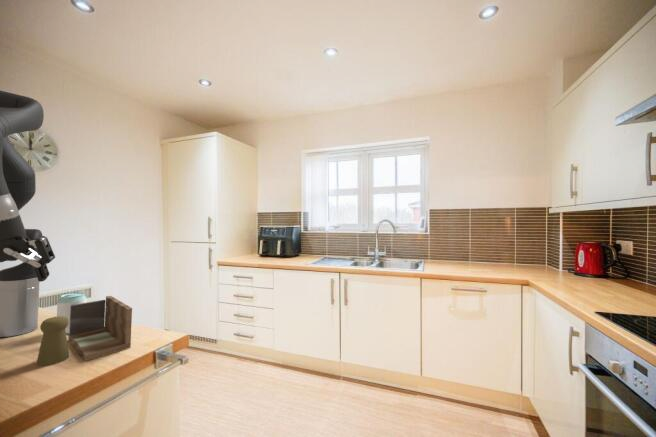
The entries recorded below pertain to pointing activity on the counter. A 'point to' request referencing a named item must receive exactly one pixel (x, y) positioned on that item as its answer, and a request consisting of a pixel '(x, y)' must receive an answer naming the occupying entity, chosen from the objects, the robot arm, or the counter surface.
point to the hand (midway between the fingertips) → (19, 283)
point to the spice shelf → (100, 327)
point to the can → (69, 305)
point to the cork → (53, 341)
